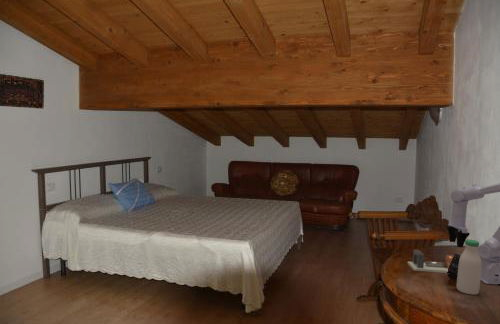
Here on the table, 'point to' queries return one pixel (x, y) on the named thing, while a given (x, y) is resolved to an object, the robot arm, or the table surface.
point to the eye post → (418, 258)
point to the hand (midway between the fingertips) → (456, 244)
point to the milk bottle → (469, 269)
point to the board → (428, 268)
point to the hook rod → (446, 264)
